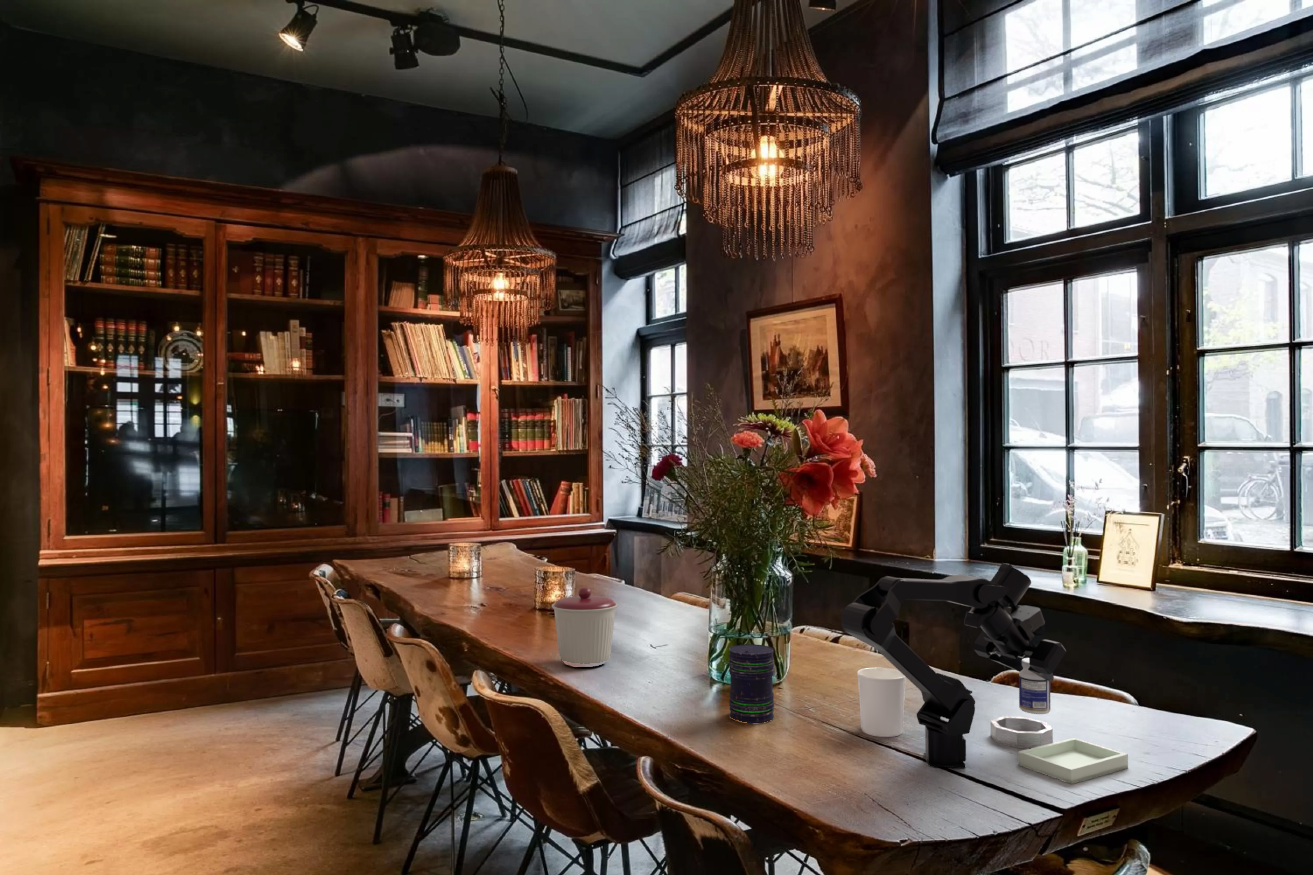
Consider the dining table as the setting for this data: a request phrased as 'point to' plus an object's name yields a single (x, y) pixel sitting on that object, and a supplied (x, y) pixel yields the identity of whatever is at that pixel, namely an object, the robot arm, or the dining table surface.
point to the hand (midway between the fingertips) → (1039, 676)
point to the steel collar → (1021, 732)
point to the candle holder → (881, 701)
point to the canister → (584, 627)
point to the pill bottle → (1033, 691)
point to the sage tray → (1073, 760)
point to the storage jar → (751, 683)
